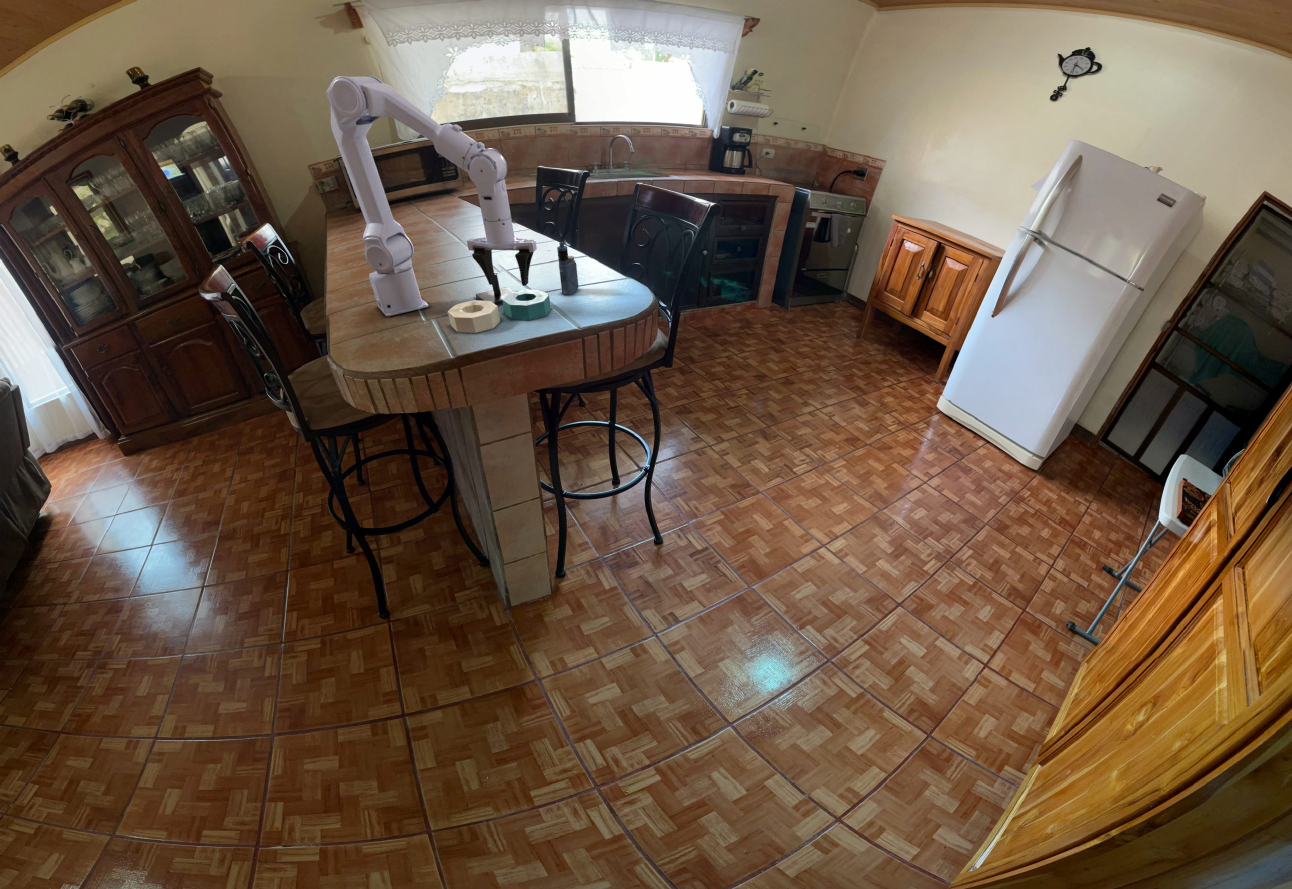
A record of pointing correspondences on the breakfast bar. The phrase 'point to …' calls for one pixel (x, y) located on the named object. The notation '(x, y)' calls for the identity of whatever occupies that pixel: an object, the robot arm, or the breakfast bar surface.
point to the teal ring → (526, 304)
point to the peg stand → (494, 293)
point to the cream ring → (474, 316)
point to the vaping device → (567, 271)
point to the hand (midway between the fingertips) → (508, 283)
